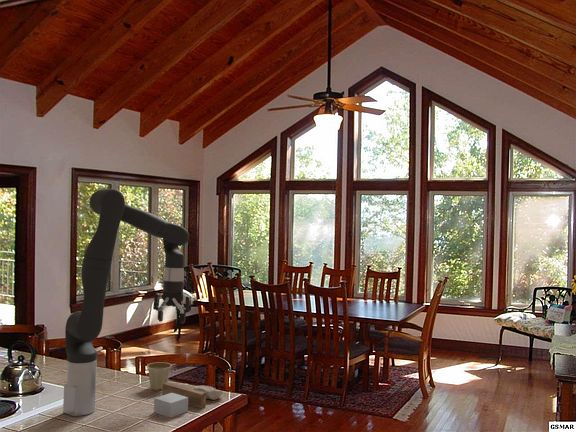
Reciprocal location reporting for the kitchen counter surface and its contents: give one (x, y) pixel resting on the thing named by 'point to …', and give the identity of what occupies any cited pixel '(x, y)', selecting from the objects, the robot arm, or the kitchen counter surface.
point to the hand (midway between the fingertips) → (171, 322)
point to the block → (171, 404)
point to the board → (186, 394)
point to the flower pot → (158, 374)
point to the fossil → (209, 392)
